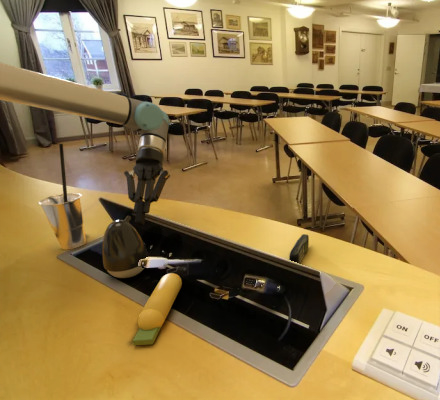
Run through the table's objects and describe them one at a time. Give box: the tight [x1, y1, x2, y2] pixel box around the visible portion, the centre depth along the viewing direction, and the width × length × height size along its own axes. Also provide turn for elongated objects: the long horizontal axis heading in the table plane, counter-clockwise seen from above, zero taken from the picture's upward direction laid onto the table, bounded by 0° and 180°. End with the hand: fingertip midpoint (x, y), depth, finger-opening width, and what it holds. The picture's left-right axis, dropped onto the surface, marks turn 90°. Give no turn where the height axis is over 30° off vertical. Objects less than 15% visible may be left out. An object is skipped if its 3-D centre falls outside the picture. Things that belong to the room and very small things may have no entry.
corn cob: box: [132, 272, 183, 346], centre depth 70 cm, size 5×20×5 cm, turn 6°
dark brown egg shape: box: [101, 215, 149, 279], centre depth 83 cm, size 10×10×15 cm
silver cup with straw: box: [37, 143, 87, 251], centre depth 95 cm, size 11×11×30 cm
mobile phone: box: [289, 233, 310, 264], centre depth 93 cm, size 5×3×15 cm
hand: (139, 223), depth 92 cm, fingers closed
